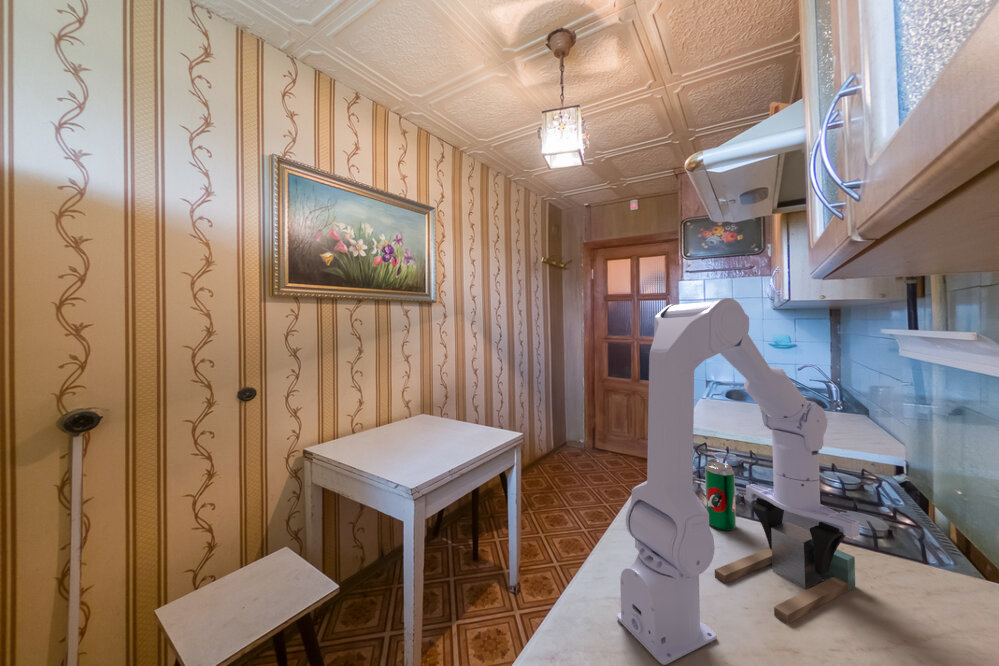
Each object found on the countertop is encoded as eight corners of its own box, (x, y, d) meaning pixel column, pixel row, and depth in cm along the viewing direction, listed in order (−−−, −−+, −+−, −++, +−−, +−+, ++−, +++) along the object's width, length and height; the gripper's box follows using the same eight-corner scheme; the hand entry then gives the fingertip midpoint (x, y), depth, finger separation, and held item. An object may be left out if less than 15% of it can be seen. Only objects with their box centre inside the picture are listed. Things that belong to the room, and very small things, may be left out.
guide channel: (787, 624, 47) (786, 590, 47) (714, 577, 57) (714, 548, 57) (855, 586, 54) (854, 556, 54) (780, 550, 63) (779, 524, 63)
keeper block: (805, 588, 54) (803, 542, 54) (772, 571, 58) (771, 527, 58) (822, 580, 56) (820, 535, 56) (789, 563, 60) (787, 521, 60)
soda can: (740, 533, 69) (739, 470, 69) (711, 530, 70) (710, 469, 70) (729, 519, 74) (727, 461, 74) (702, 517, 75) (701, 460, 75)
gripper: (869, 486, 52) (872, 580, 52) (762, 456, 65) (764, 531, 65) (843, 496, 49) (845, 595, 49) (737, 462, 63) (739, 540, 62)
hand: (797, 559), depth 57 cm, fingers open, 6 cm apart
